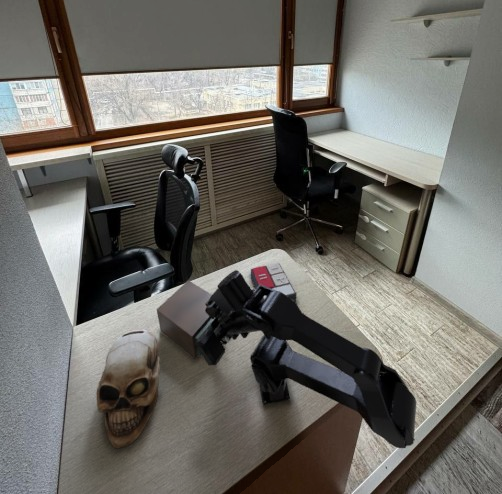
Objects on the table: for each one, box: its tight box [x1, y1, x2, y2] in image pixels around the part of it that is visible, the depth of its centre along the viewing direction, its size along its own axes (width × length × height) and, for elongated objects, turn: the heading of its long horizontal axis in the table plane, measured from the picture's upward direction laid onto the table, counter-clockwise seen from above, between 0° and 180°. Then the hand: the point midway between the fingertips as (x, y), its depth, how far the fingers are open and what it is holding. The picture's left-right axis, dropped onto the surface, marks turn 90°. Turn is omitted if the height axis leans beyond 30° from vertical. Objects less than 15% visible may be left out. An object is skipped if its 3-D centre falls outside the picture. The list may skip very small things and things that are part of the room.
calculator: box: [250, 262, 297, 303], centre depth 90 cm, size 11×4×15 cm
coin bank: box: [96, 329, 161, 449], centre depth 62 cm, size 16×17×13 cm
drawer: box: [194, 317, 216, 358], centre depth 76 cm, size 14×11×7 cm
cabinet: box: [156, 279, 213, 360], centre depth 77 cm, size 14×12×9 cm
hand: (213, 326), depth 72 cm, fingers closed
